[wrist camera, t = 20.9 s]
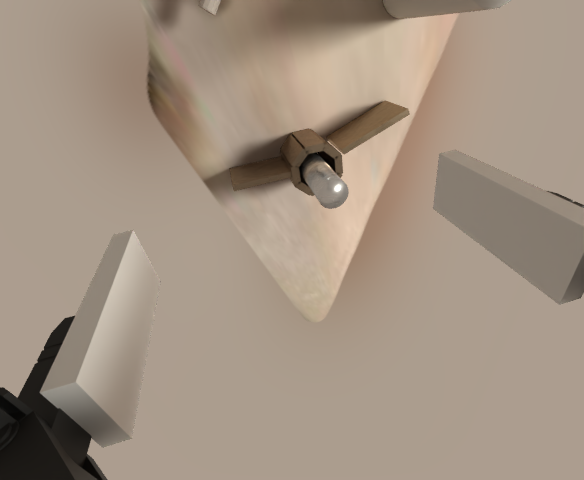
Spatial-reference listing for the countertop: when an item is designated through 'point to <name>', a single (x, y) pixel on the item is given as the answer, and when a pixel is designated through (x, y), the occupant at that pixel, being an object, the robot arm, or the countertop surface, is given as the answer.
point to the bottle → (437, 7)
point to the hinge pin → (323, 181)
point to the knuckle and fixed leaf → (288, 162)
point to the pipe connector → (210, 5)
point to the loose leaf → (367, 126)
